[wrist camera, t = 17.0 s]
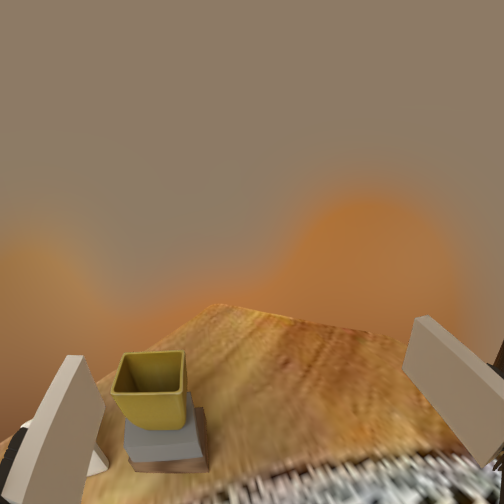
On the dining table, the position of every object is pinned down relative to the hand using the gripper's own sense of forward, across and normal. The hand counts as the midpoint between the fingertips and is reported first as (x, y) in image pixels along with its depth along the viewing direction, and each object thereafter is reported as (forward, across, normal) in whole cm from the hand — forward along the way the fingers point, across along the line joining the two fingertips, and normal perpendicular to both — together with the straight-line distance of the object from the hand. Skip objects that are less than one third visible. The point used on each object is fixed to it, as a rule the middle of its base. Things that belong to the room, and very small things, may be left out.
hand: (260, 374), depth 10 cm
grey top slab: (+20, -12, -29) cm, 37 cm away
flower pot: (+20, -11, -25) cm, 34 cm away
